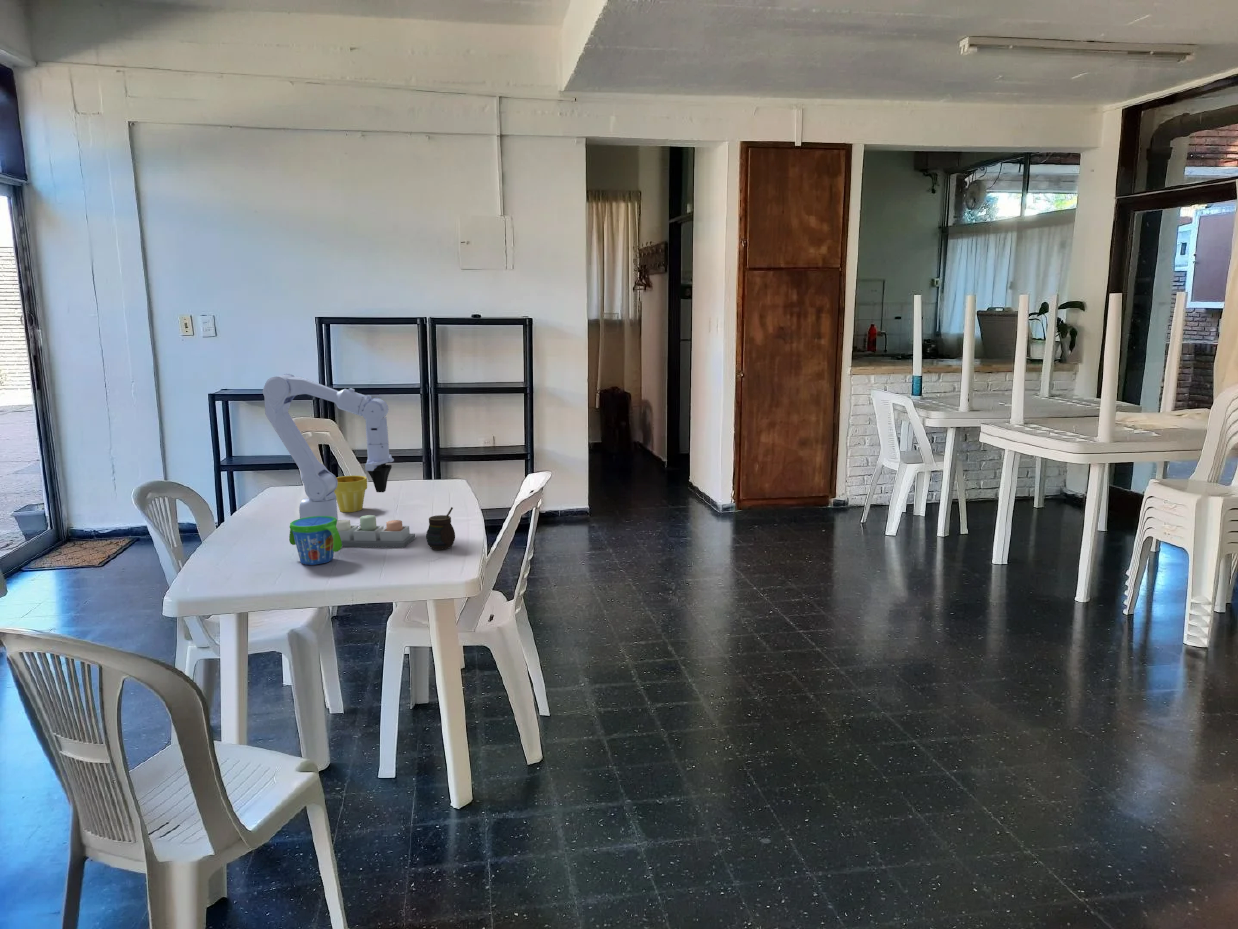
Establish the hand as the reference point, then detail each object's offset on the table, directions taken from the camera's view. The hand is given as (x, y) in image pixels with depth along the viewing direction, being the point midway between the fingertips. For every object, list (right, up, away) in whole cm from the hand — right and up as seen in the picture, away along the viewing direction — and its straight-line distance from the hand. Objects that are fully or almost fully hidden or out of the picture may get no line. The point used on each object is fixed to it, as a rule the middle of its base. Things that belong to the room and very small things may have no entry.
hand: (381, 491), depth 230 cm
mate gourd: (+20, -14, -18) cm, 30 cm away
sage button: (0, -10, -12) cm, 16 cm away
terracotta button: (+7, -11, -13) cm, 19 cm away
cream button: (-7, -11, -12) cm, 17 cm away
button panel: (0, -13, -12) cm, 18 cm away
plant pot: (-16, -7, +24) cm, 30 cm away
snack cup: (-8, -16, -28) cm, 33 cm away
